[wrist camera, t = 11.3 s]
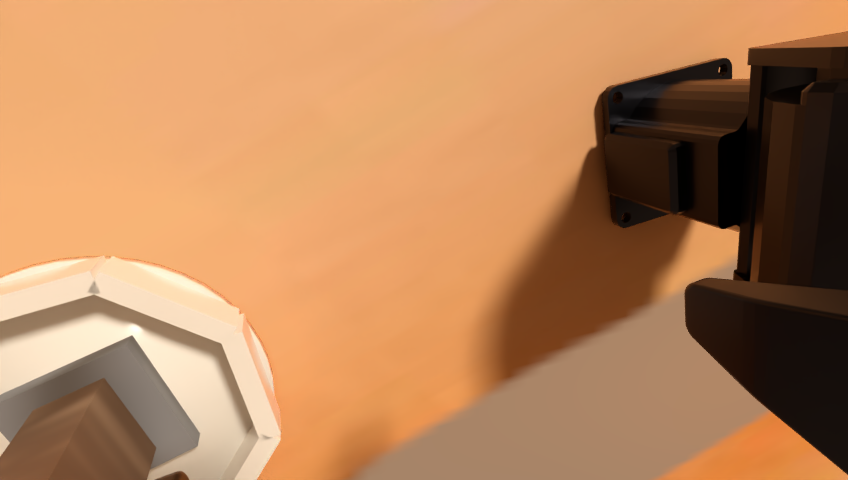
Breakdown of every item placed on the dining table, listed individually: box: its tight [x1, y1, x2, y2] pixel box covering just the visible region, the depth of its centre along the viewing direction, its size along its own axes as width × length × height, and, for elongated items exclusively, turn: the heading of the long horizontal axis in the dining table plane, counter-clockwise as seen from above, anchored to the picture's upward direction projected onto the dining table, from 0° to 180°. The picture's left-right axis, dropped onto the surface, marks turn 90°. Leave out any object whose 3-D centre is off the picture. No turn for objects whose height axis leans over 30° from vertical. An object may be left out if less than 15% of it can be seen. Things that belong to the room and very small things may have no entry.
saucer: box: [0, 255, 281, 480], centre depth 19 cm, size 12×12×2 cm
